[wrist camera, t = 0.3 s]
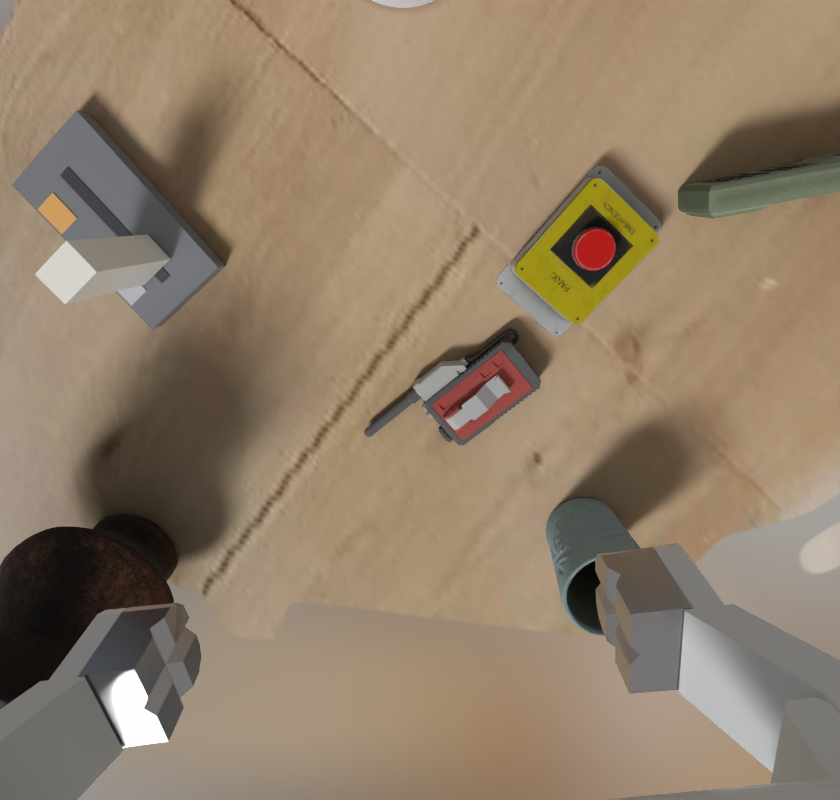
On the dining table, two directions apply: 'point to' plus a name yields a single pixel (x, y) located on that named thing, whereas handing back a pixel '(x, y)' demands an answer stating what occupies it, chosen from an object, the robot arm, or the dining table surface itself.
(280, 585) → the dining table surface
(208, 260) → the switch panel
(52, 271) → the switch tab
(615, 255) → the emergency button
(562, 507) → the grey-green cup
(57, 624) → the jug
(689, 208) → the handheld radio
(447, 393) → the walkie-talkie
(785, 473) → the dining table surface
